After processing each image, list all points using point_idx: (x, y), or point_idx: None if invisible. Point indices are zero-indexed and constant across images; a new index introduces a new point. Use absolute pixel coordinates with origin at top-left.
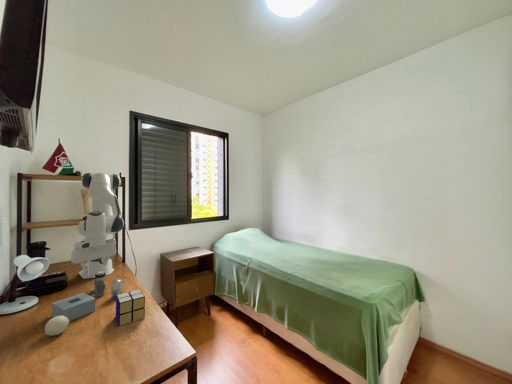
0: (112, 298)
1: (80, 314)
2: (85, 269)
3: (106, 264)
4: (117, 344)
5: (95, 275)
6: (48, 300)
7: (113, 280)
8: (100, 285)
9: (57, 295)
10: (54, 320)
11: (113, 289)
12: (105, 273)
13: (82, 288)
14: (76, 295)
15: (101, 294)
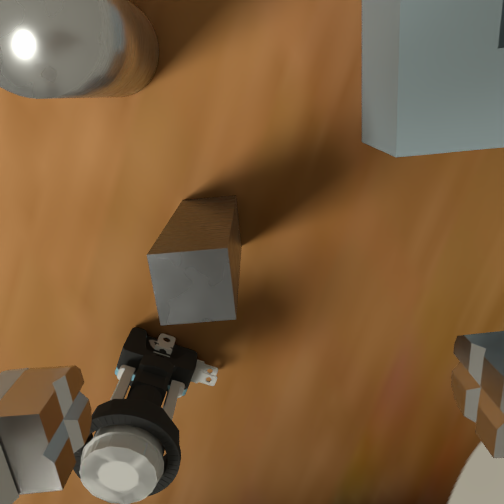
0: (154, 33)
1: None
2: (500, 334)
3: (18, 371)
4: None
5: (177, 453)
6: (453, 424)
7: (68, 78)
8: (198, 229)
9: (388, 462)
10: None
11: (122, 3)
12: None
13: (242, 461)
14: (470, 135)
15: (198, 202)
